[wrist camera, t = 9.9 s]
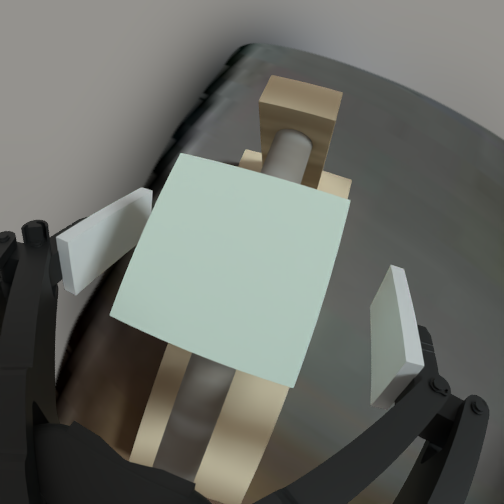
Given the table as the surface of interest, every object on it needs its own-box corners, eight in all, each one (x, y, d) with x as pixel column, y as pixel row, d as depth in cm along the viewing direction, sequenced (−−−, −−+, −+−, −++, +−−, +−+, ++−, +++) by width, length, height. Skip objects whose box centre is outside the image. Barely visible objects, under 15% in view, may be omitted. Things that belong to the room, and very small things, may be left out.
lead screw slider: (241, 495, 17) (220, 584, 7) (139, 454, 19) (61, 510, 8) (346, 192, 23) (386, 100, 13) (247, 163, 24) (233, 62, 14)
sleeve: (281, 363, 18) (293, 388, 8) (187, 330, 19) (109, 315, 9) (312, 269, 19) (350, 200, 10) (221, 240, 20) (180, 153, 11)
